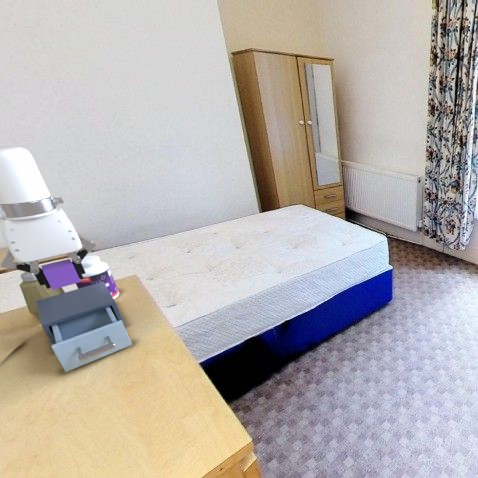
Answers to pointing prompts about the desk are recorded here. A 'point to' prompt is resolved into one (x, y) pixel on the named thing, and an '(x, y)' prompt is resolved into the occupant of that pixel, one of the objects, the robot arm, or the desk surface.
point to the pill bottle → (97, 275)
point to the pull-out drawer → (88, 338)
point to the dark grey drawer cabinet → (74, 306)
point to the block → (60, 274)
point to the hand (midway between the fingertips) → (64, 281)
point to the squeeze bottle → (35, 292)
